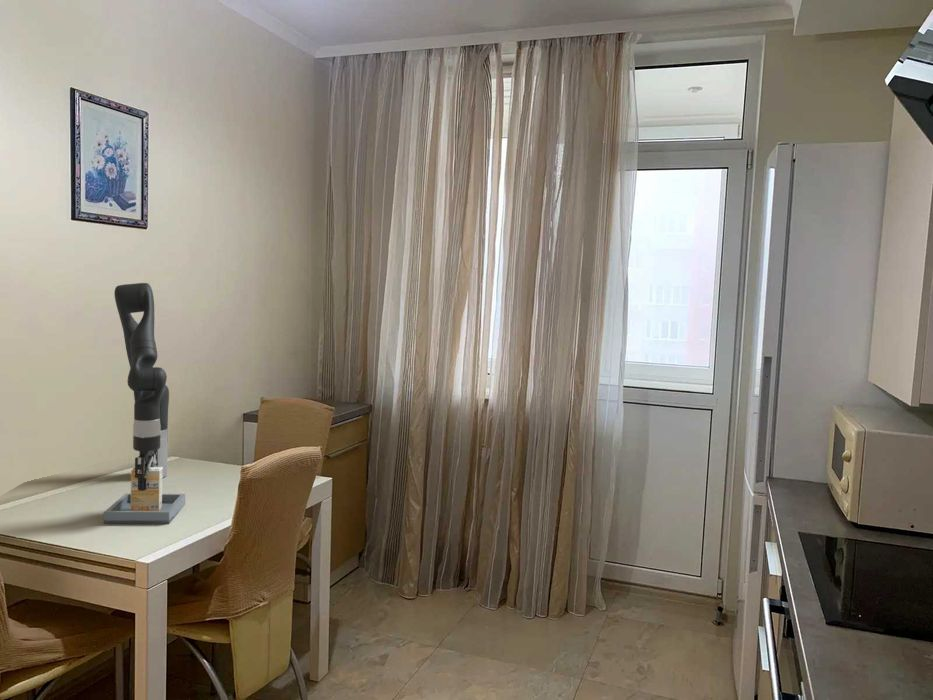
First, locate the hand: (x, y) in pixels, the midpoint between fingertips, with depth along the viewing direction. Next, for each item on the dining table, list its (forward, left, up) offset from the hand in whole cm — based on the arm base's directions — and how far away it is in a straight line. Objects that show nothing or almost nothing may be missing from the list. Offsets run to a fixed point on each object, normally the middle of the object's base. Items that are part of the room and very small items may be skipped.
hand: (146, 486), depth 214 cm
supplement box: (0, 0, -8) cm, 8 cm away
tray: (0, 0, -9) cm, 9 cm away
